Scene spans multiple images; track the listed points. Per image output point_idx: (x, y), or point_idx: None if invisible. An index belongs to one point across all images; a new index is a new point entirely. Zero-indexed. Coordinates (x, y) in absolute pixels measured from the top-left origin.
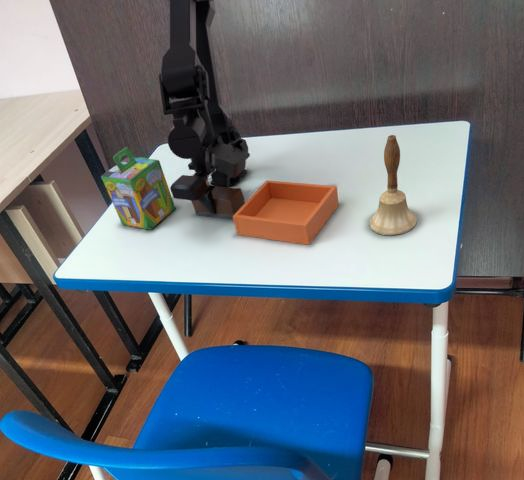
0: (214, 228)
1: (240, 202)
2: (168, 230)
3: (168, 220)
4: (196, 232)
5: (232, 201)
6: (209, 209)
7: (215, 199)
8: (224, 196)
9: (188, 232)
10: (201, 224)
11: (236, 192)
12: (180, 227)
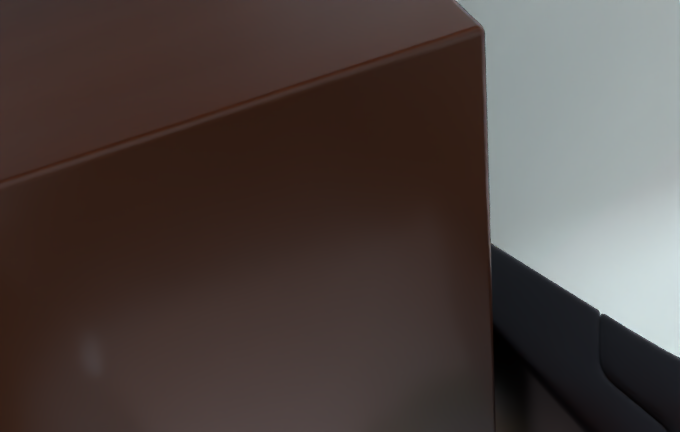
0: (576, 6)
1: (25, 20)
2: (644, 326)
3: None
4: (666, 128)
5: (354, 19)
6: None
7: (488, 343)
8: (363, 301)
9: (667, 191)
10: (527, 201)
11: (24, 225)
12: (598, 298)
